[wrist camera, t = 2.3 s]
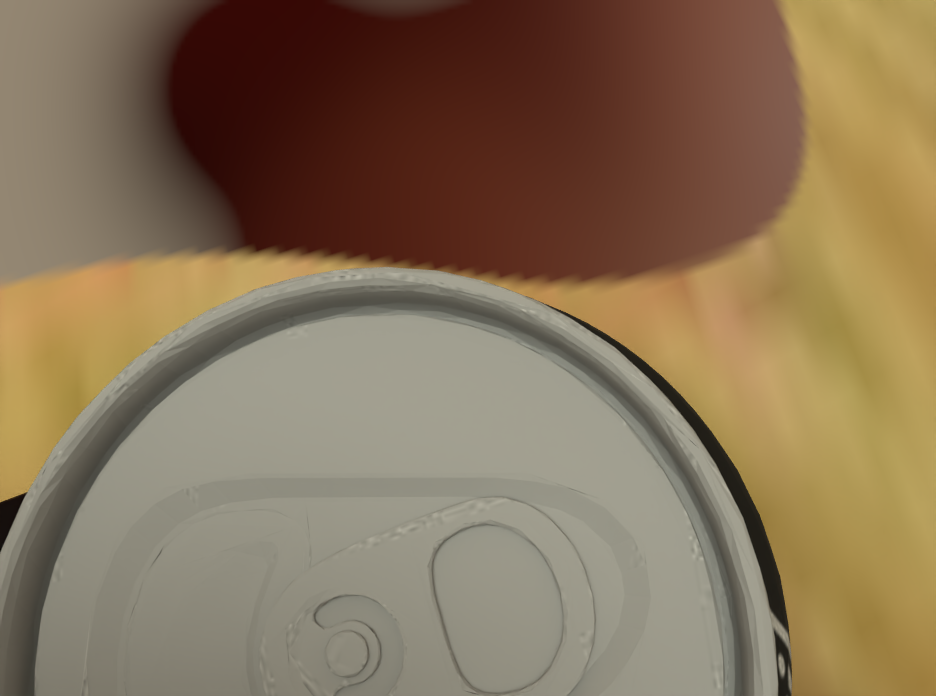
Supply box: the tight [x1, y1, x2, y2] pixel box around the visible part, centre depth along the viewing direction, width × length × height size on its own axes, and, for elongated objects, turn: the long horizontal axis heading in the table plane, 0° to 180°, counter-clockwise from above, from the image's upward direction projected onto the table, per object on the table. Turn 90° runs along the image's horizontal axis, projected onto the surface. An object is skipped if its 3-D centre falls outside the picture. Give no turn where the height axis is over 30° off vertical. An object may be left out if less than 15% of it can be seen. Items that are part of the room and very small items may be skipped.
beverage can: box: [0, 267, 792, 696], centre depth 12 cm, size 7×7×12 cm
